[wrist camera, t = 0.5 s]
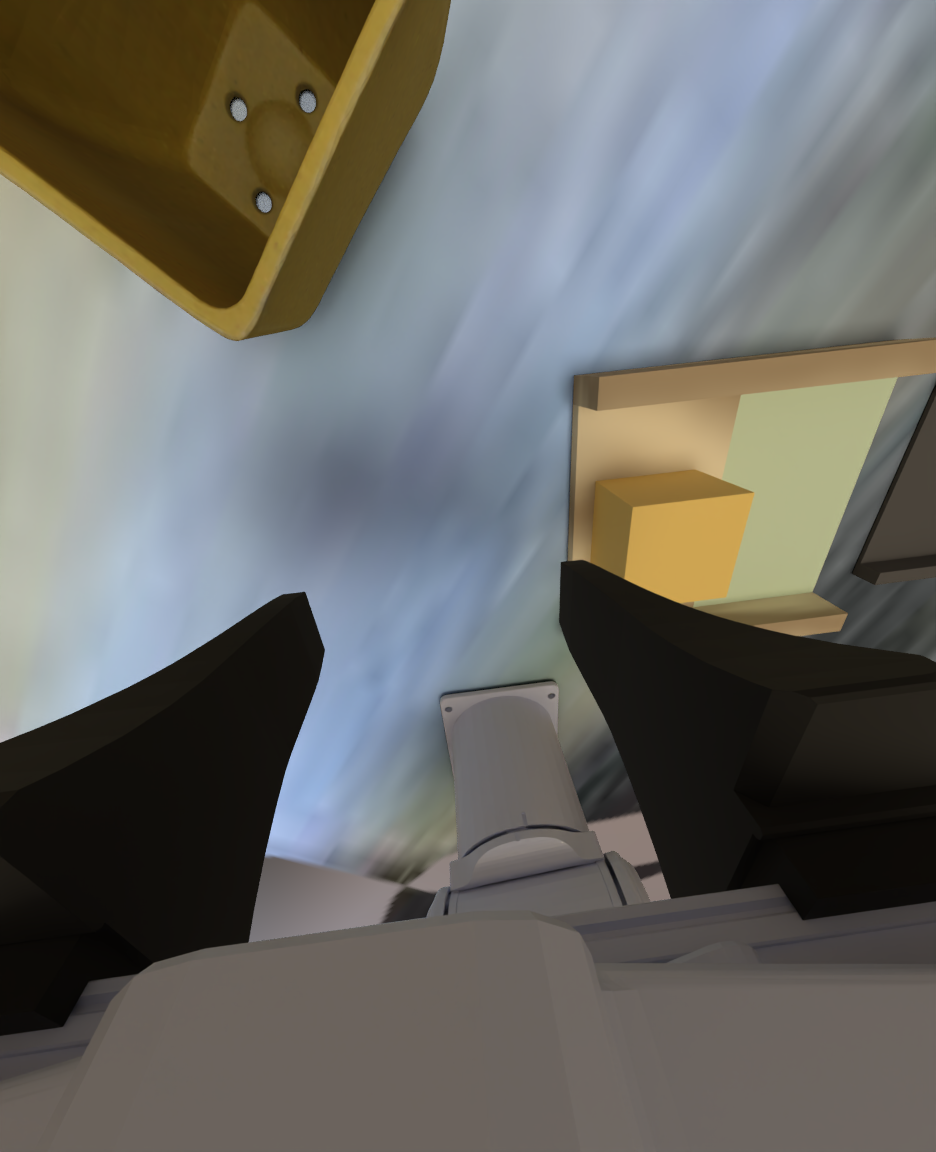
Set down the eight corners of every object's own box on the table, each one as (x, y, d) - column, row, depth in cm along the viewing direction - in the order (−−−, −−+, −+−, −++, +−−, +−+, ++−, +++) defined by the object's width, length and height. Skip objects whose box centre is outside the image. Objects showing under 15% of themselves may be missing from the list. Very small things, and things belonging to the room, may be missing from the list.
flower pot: (101, 175, 13) (-394, -111, 5) (202, -170, 10) (-560, -1937, 2) (333, 359, 16) (239, 353, 8) (460, 134, 13) (500, -198, 6)
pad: (802, 586, 24) (812, 592, 23) (685, 601, 24) (691, 607, 23) (885, 369, 18) (900, 369, 18) (730, 386, 18) (740, 387, 17)
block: (678, 559, 21) (726, 597, 18) (589, 570, 21) (620, 610, 18) (695, 469, 19) (754, 492, 15) (595, 481, 19) (632, 507, 15)
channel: (796, 602, 25) (839, 630, 22) (565, 632, 24) (581, 664, 22) (896, 340, 18) (977, 335, 15) (574, 375, 17) (599, 376, 15)
